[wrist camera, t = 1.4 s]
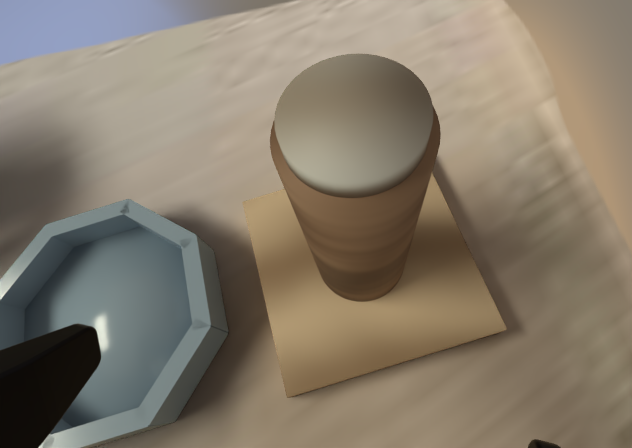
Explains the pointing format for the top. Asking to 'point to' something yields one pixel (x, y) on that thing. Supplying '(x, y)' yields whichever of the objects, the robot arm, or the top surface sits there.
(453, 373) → the top surface
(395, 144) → the pepper mill
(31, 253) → the dish
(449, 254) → the trivet
